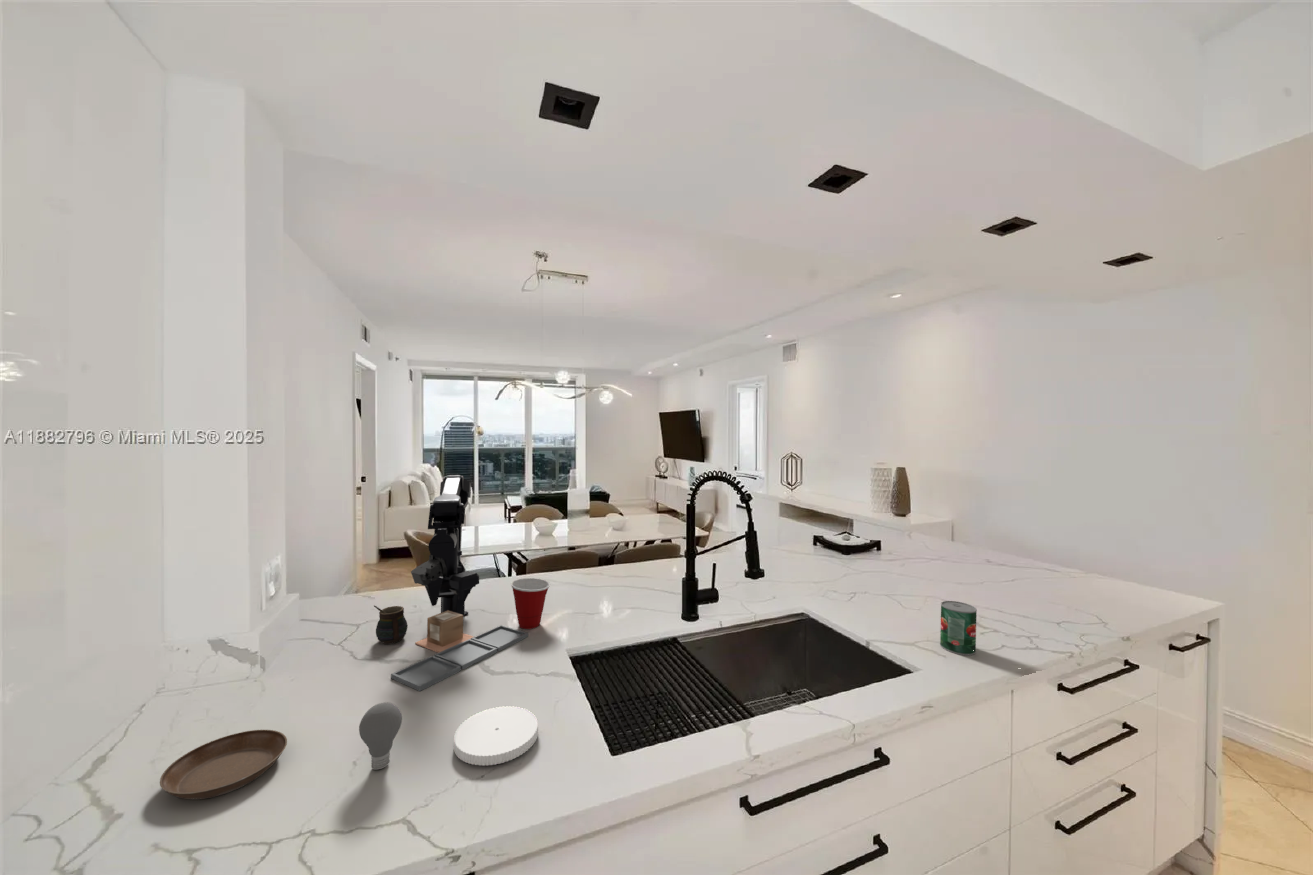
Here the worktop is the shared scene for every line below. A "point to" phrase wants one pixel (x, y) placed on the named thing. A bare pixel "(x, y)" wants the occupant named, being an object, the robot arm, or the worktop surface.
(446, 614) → the cardboard box
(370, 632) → the worktop surface
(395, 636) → the mate gourd
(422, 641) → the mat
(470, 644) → the tray
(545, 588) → the plastic cup
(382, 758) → the light bulb
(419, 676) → the tray
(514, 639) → the tray
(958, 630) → the canned tomato
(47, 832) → the worktop surface
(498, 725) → the plastic lid
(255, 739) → the saucer
